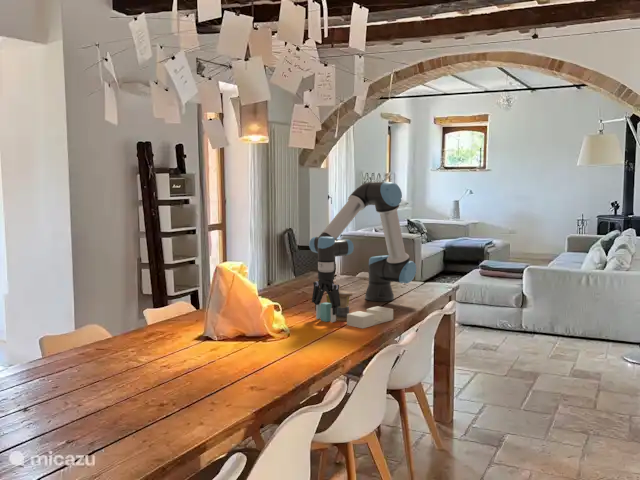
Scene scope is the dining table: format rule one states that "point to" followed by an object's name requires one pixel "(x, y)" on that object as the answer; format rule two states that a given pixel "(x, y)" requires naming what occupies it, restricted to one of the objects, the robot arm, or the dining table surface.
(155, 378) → the dining table surface
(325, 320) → the block
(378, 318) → the notched board
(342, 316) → the door knob
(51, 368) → the dining table surface
